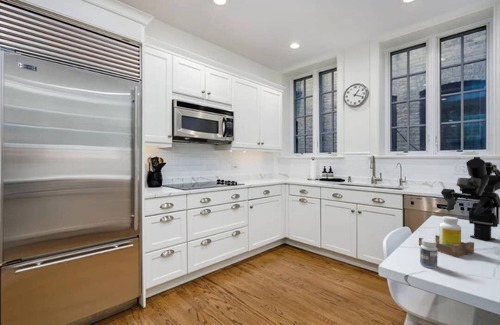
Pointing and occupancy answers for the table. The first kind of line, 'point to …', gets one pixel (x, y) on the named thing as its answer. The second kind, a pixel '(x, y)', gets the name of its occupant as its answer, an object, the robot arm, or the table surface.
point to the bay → (453, 248)
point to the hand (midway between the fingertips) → (460, 212)
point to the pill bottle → (428, 253)
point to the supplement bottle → (450, 231)
